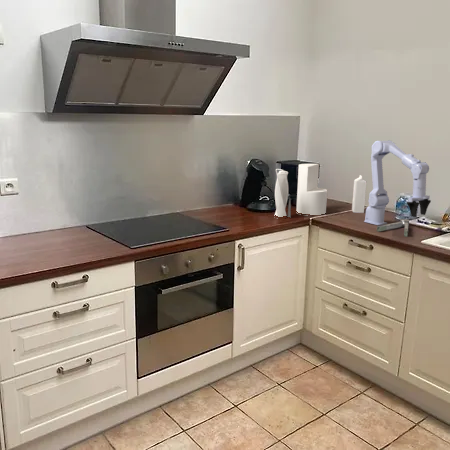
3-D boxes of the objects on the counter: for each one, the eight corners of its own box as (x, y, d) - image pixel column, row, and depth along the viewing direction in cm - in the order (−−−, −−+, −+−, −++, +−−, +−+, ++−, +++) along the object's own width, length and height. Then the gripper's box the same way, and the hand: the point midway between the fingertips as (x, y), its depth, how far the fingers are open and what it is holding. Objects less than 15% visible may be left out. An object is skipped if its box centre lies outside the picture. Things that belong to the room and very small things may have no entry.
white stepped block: (291, 213, 270) (293, 165, 263) (302, 208, 284) (305, 163, 277) (319, 217, 261) (322, 168, 254) (329, 211, 275) (333, 165, 268)
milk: (361, 210, 279) (364, 174, 273) (364, 213, 273) (367, 176, 268) (351, 210, 279) (354, 174, 274) (353, 212, 273) (356, 175, 268)
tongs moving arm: (402, 225, 243) (403, 221, 242) (407, 226, 241) (407, 222, 240) (376, 230, 232) (377, 226, 231) (381, 232, 229) (381, 227, 229)
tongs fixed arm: (399, 224, 246) (400, 219, 245) (408, 225, 244) (409, 219, 244) (398, 235, 224) (399, 229, 223) (408, 236, 222) (409, 230, 222)
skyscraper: (278, 220, 254) (280, 169, 247) (270, 217, 261) (272, 168, 254) (291, 219, 257) (293, 169, 250) (283, 216, 264) (285, 167, 257)
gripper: (417, 189, 215) (416, 217, 217) (435, 187, 223) (434, 214, 225) (404, 188, 221) (403, 216, 223) (422, 186, 229) (421, 213, 231)
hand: (418, 215), depth 225 cm, fingers open, 7 cm apart
